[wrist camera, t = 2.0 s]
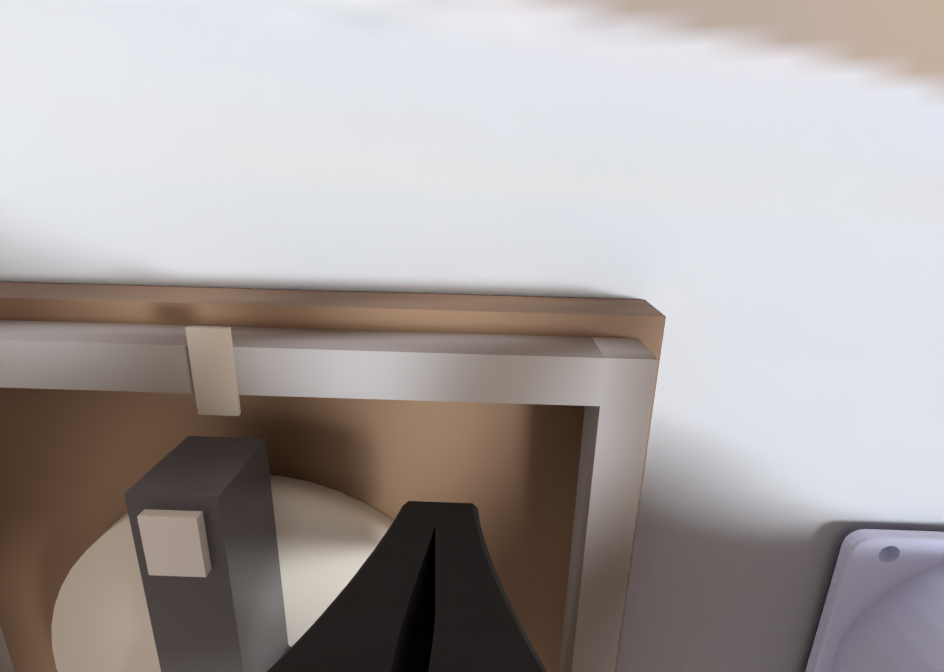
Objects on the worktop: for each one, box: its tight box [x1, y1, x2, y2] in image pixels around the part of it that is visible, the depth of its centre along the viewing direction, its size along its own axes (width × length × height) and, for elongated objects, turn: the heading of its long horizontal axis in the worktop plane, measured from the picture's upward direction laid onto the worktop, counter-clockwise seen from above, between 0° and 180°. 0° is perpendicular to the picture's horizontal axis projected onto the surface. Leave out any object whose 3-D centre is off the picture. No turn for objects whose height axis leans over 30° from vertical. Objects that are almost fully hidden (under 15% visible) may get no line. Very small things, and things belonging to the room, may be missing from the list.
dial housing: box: [0, 282, 666, 672], centre depth 14 cm, size 18×18×3 cm
